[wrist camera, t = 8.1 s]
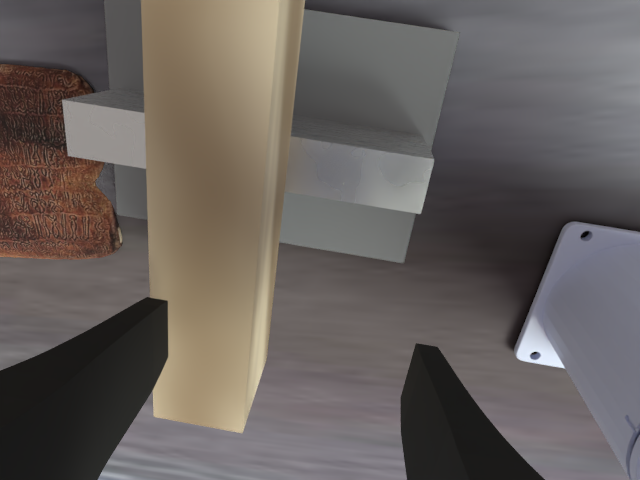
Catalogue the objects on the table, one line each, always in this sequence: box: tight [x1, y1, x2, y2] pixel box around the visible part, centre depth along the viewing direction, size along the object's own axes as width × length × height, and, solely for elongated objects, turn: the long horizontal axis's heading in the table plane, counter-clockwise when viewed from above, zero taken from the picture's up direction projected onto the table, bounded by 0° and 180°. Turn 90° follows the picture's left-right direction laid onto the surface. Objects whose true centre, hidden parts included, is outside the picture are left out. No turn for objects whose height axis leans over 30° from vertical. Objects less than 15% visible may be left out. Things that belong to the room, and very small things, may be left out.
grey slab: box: [104, 0, 460, 263], centre depth 20 cm, size 14×10×2 cm
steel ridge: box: [62, 88, 435, 214], centre depth 18 cm, size 13×2×4 cm, turn 82°
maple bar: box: [141, 0, 305, 433], centre depth 14 cm, size 3×16×4 cm, turn 172°
